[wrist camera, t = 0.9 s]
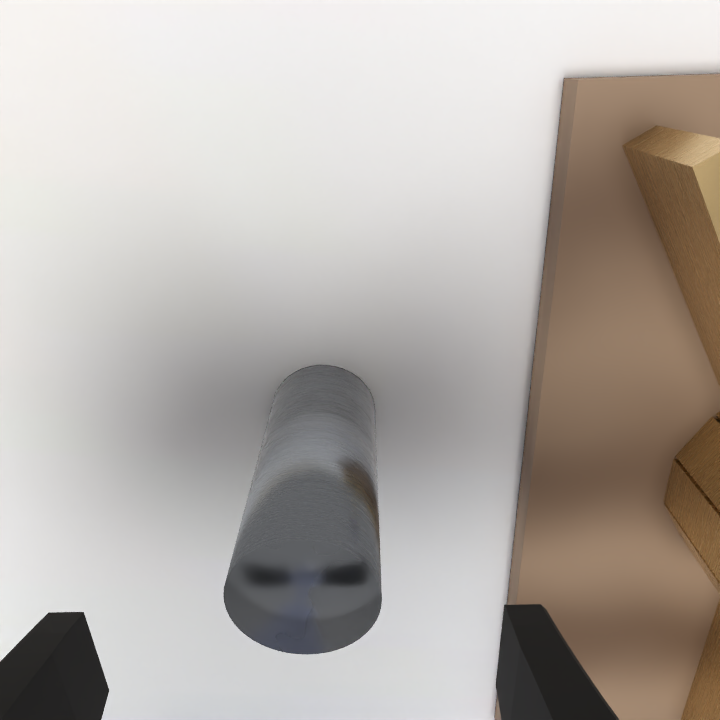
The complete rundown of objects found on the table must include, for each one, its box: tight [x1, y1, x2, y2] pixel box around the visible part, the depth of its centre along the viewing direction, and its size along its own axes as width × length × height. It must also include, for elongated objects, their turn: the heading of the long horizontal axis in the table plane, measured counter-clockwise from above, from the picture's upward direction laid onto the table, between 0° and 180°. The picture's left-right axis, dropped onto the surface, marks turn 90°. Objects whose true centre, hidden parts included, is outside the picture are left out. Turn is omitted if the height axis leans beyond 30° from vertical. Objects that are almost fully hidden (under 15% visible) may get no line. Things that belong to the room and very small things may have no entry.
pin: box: [224, 365, 382, 654], centre depth 15 cm, size 3×3×7 cm
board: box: [495, 74, 720, 720], centre depth 18 cm, size 23×10×1 cm, turn 2°
